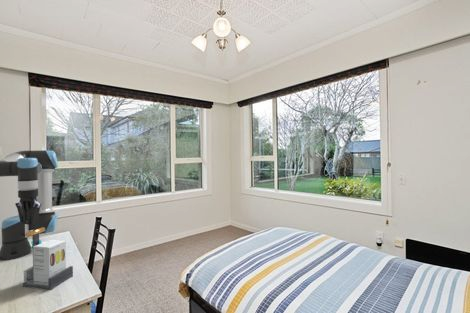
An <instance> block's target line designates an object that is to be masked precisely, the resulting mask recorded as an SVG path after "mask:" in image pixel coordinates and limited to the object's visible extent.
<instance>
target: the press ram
mask: <svg viewBox="0 0 470 313" xmlns="http://www.w3.org/2000/svg"><path fill="white" fill-rule="evenodd" d="M44 231H45V228H44V227H42V228H39V229H36V230H33V231H30V232H27V233H26V237H28V238H30V236H31V237H32V240H31V241H32V242H33V246H36V245H39V240H40V234H39V233H41V232H44ZM32 278H34V261H33V260H32V266H31V267H29V268H27V269H24V270H23V282H27V281H29V280H30V279H32Z"/></svg>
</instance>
